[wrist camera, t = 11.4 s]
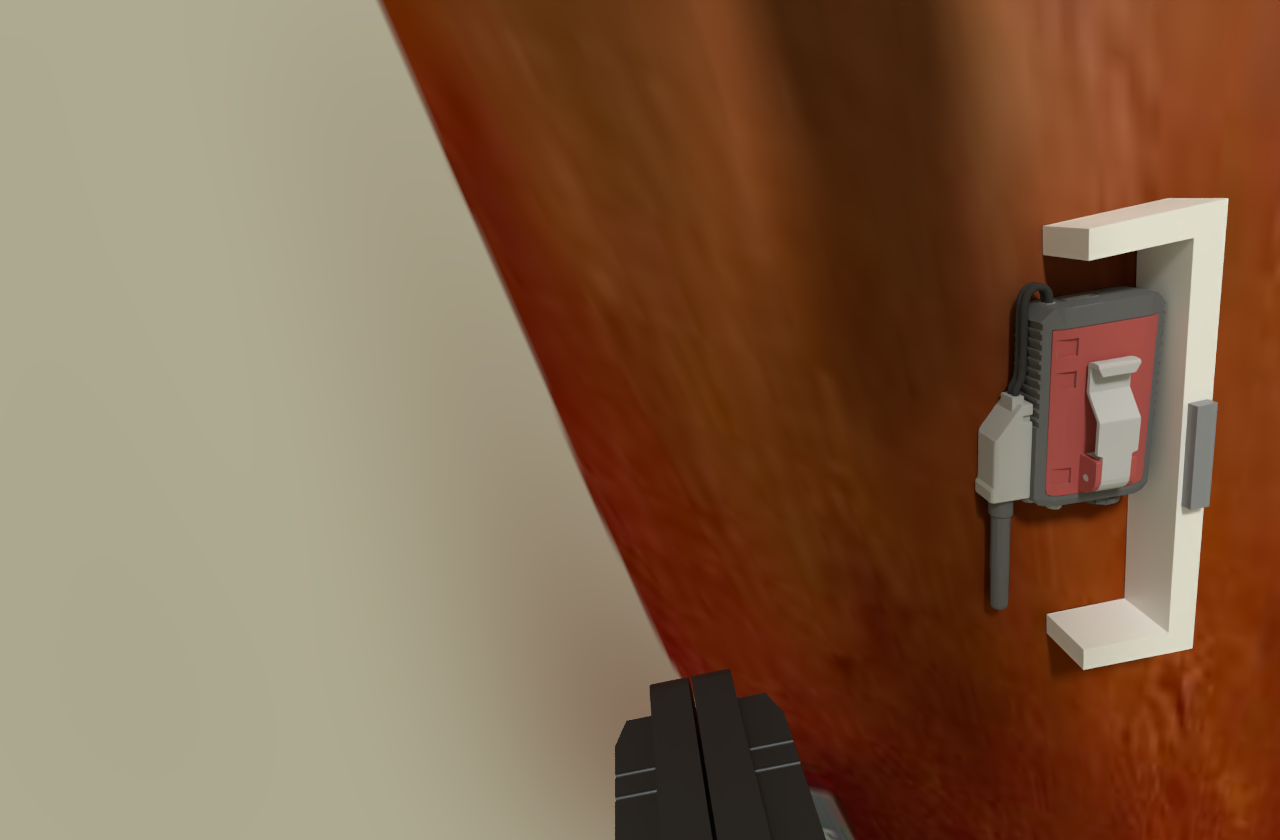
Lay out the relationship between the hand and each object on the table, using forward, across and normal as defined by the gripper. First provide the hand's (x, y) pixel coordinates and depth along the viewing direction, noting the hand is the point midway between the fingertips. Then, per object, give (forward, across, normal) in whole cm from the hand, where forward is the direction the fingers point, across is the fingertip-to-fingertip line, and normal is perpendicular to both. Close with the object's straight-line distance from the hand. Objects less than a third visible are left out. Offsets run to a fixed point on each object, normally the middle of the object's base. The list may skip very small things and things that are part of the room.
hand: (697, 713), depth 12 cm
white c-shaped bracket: (+25, -24, +10) cm, 36 cm away
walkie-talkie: (+26, -22, +10) cm, 35 cm away
